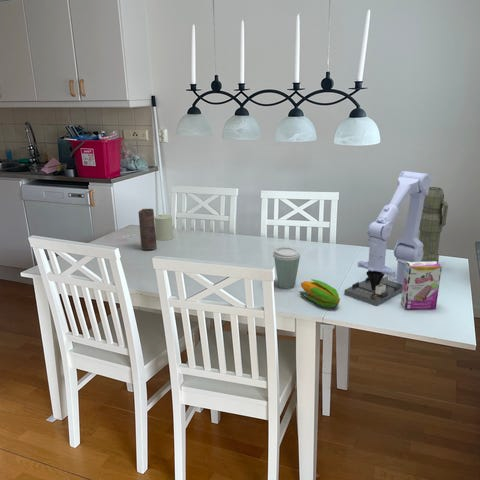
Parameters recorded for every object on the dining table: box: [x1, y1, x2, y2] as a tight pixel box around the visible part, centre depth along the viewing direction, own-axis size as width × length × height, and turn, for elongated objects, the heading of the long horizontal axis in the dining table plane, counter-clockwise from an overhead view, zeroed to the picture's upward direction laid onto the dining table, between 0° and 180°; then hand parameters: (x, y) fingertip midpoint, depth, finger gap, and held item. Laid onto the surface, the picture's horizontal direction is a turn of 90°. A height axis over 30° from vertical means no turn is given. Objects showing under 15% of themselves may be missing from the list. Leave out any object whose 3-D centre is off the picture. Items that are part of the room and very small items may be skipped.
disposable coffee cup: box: [272, 246, 301, 290], centre depth 188 cm, size 11×11×15 cm
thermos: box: [418, 186, 449, 263], centre depth 200 cm, size 9×12×35 cm
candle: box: [138, 208, 157, 250], centre depth 234 cm, size 8×7×20 cm
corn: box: [300, 278, 341, 308], centre depth 176 cm, size 7×8×20 cm
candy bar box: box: [400, 261, 443, 311], centre depth 168 cm, size 11×5×16 cm, turn 92°
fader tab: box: [375, 284, 386, 295], centre depth 176 cm, size 3×2×3 cm
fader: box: [380, 274, 389, 285], centre depth 185 cm, size 3×2×3 cm
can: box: [154, 213, 174, 241], centre depth 252 cm, size 9×9×12 cm
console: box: [343, 277, 403, 307], centre depth 183 cm, size 20×14×3 cm
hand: (374, 289), depth 178 cm, fingers closed
